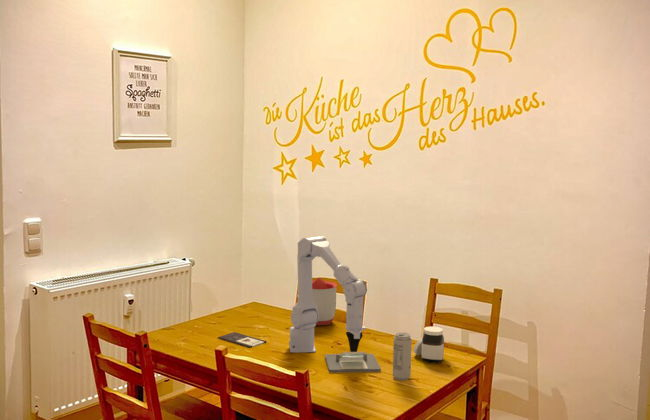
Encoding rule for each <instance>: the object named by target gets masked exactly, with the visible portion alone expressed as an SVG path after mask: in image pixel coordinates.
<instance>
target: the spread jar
mask: <svg viewBox="0 0 650 420" xmlns="http://www.w3.org/2000/svg"><path fill="white" fill-rule="evenodd" d="M444 350H445V338H444V329H443V328H442V327H438V326H425V327H424V329H423V335H422V337H421V338H419V339H418V340H417V341H416V342H415V345H414V346H413V353H414V354H416V356H420V355H421V359H422V361H424V362H425V363H428V364H438V363H441V362H443V360H444V353H445V351H444Z"/></svg>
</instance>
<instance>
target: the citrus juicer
mask: <svg viewBox="0 0 650 420" xmlns="http://www.w3.org/2000/svg"><path fill="white" fill-rule="evenodd" d="M337 287H338V284H337V283H335V282H333V281H328V280H323V279H322V278H321V277H318V278H316V279H315V280H312V301H313V302H314V303H315V304H316V305H317V310H318V313H319V320H318V322H317V323H316V326H329V325H330V324H332V322H333V320H334V317H335V314H336V311H337V310H336V309H337ZM296 297H297V298H298V293H297V295H296Z"/></svg>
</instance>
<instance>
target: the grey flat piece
mask: <svg viewBox="0 0 650 420" xmlns="http://www.w3.org/2000/svg"><path fill="white" fill-rule="evenodd" d="M341 354H342V353H341ZM341 354H340V353H335V354H333V353H329V354H326V353H325V354H324V359H325V362H326V366H327V369H328V373H335V374H336V373H380V372H381V371H382V368H381V366H380V365H379V362H378V361H377V358H376V357H375V354H374V353H366V354H365V355H364V356H363V357H341Z"/></svg>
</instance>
